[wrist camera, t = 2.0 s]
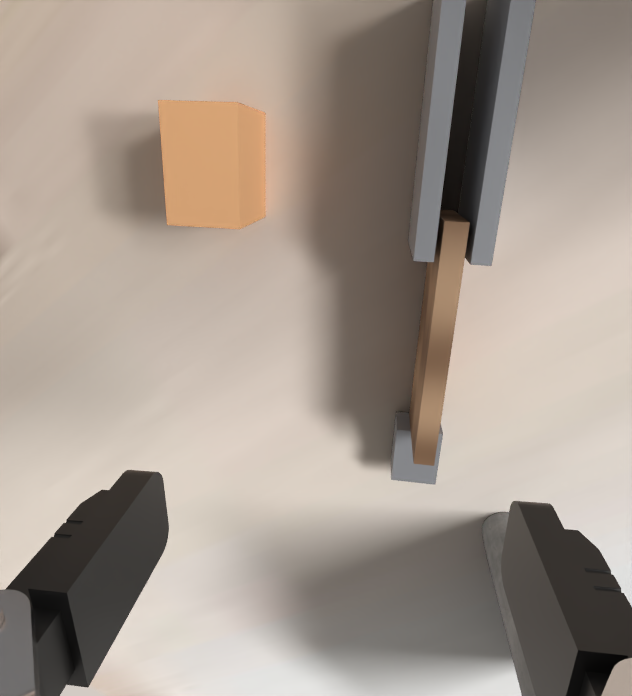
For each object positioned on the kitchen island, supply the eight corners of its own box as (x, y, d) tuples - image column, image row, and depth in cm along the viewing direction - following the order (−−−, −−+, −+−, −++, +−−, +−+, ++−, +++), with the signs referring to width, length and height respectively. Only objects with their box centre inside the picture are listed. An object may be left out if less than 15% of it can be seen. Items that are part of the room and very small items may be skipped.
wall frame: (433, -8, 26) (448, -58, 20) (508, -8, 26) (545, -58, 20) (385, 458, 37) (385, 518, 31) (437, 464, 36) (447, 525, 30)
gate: (433, 209, 30) (444, 221, 24) (453, 210, 29) (469, 222, 24) (409, 414, 35) (413, 463, 29) (426, 416, 35) (434, 465, 29)
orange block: (200, 111, 30) (158, 100, 24) (265, 113, 29) (237, 102, 24) (205, 213, 32) (166, 225, 26) (265, 216, 31) (239, 229, 26)
